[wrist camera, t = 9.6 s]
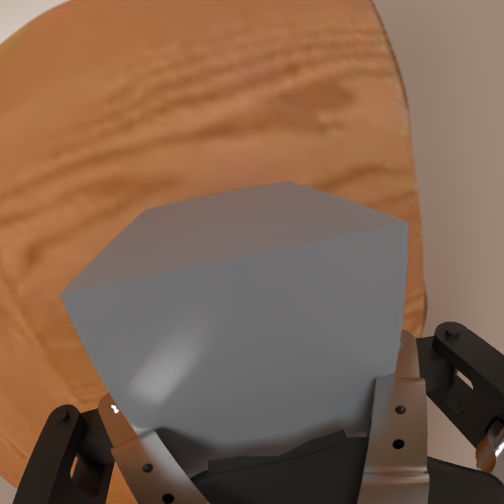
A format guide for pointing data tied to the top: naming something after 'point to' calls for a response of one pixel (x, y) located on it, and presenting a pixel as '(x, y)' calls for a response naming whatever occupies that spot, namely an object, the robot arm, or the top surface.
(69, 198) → the top surface
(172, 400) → the gray tapered block
